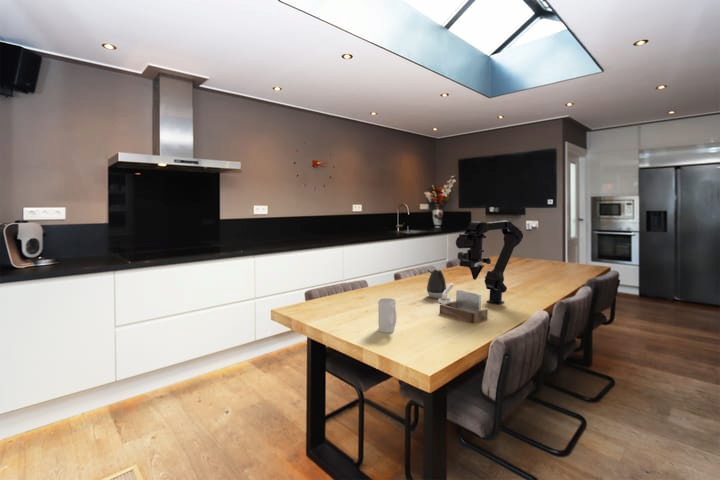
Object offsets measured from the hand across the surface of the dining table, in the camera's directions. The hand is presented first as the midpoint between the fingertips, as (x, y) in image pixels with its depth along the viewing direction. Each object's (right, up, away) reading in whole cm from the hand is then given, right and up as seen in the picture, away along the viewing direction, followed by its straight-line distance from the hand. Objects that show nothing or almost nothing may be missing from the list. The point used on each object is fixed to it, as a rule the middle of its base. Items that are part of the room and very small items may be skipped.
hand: (474, 279), depth 180 cm
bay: (-10, -15, -15) cm, 23 cm away
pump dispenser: (-15, -11, +17) cm, 25 cm away
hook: (-13, -13, +7) cm, 19 cm away
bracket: (-10, -15, -14) cm, 23 cm away
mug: (-45, -17, -36) cm, 59 cm away
